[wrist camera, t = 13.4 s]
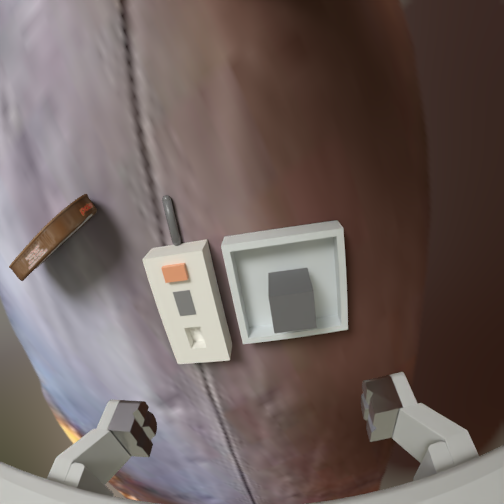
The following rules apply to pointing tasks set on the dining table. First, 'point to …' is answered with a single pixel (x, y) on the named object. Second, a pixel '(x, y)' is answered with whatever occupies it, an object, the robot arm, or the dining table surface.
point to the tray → (281, 259)
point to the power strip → (188, 297)
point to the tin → (53, 236)
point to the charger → (291, 300)
